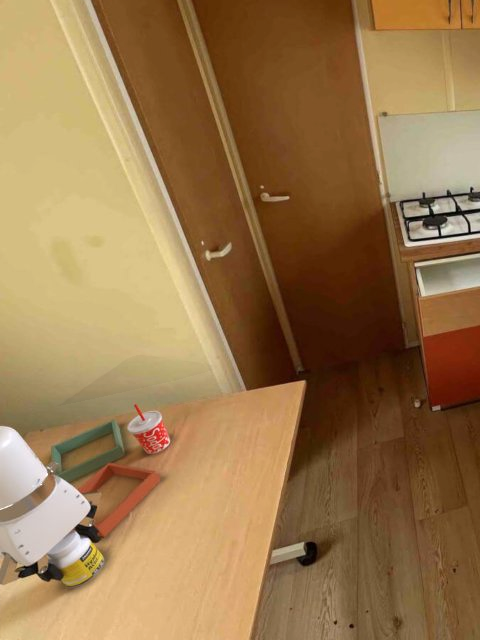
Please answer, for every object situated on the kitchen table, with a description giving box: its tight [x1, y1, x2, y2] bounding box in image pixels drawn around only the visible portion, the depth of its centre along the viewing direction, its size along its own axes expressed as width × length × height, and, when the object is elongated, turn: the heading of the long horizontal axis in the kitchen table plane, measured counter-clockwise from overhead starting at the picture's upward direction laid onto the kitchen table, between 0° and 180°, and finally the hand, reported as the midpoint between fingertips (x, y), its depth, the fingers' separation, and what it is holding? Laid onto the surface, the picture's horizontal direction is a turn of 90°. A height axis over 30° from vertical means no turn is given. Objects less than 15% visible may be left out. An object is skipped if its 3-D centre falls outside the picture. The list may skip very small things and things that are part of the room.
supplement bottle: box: [46, 530, 105, 588], centre depth 75 cm, size 5×5×10 cm
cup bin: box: [72, 462, 161, 538], centre depth 88 cm, size 12×12×4 cm
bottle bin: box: [50, 418, 126, 483], centre depth 97 cm, size 11×11×4 cm
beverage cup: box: [126, 403, 171, 455], centre depth 97 cm, size 6×6×14 cm
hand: (74, 557), depth 75 cm, fingers closed on supplement bottle, 5 cm apart
